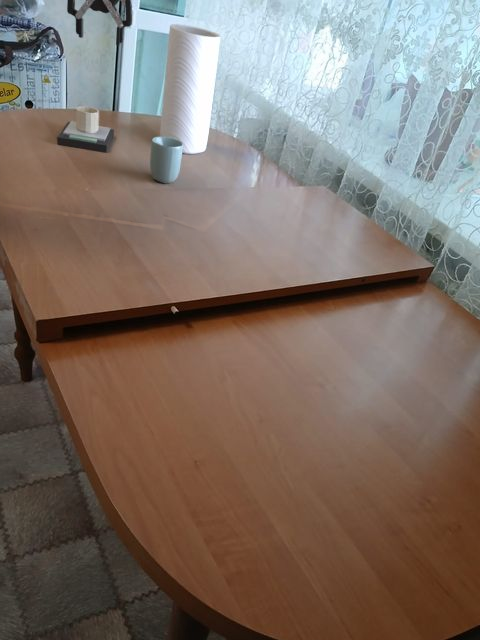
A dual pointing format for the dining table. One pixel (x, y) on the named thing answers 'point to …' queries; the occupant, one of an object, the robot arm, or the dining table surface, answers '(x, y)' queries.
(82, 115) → the faceted beige tumbler
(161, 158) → the cup
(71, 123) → the scale
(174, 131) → the vase
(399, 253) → the dining table surface
